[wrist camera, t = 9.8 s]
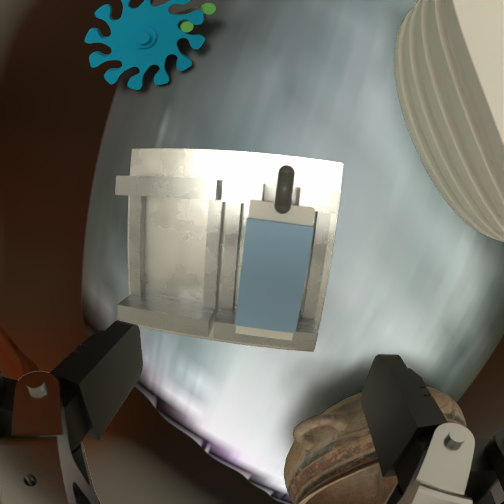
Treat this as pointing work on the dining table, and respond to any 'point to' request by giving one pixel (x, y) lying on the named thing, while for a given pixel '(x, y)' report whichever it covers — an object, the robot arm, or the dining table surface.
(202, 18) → the gear
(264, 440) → the dining table surface
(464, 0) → the plate stack
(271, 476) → the dining table surface
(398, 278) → the dining table surface
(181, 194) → the plate
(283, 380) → the dining table surface
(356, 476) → the cooking pot
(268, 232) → the block
